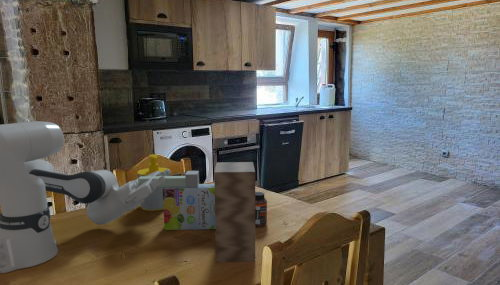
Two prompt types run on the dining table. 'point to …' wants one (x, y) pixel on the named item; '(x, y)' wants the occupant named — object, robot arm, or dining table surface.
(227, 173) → the walnut stand
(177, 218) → the snack box
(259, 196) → the supplement bottle
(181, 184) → the bar
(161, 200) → the grey canister
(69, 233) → the dining table surface
